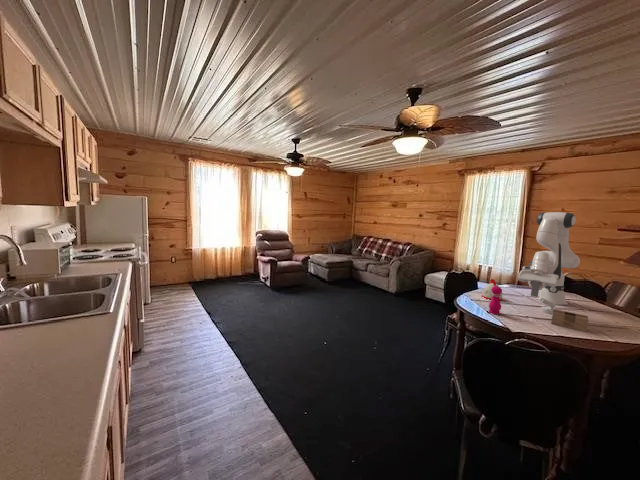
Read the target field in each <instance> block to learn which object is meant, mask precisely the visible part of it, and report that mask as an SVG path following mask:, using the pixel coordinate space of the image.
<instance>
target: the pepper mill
mask: <svg viewBox="0 0 640 480" xmlns="http://www.w3.org/2000/svg"><path fill="white" fill-rule="evenodd" d="M495 284H496V286H494V287H492V289H491V291H492V292H493V293H492V300H490V301H489V304H488V308H489V309H488V313H489V312H490V313H489V314H491V313H493V314H492V315H495V314H499V315H500V314H501V309H502V304H501V301H499V298H500V295H501V294H500V293H502V294H503V289H502V287H500V286H499V284H497V283H495Z"/></svg>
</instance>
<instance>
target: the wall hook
mask: <svg viewBox="0 0 640 480" xmlns="http://www.w3.org/2000/svg"><path fill="white" fill-rule="evenodd" d="M539 301H540V303H542V304H544V305H545V306H541V307H540V311H541V312H542V313H545V314H549V315H553V309H556V310H558V309H557V308H556V304H554V303H552V302H550V301H548V300H546V299H544V298H542V299H541V300H539ZM546 305H547V306H546Z"/></svg>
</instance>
